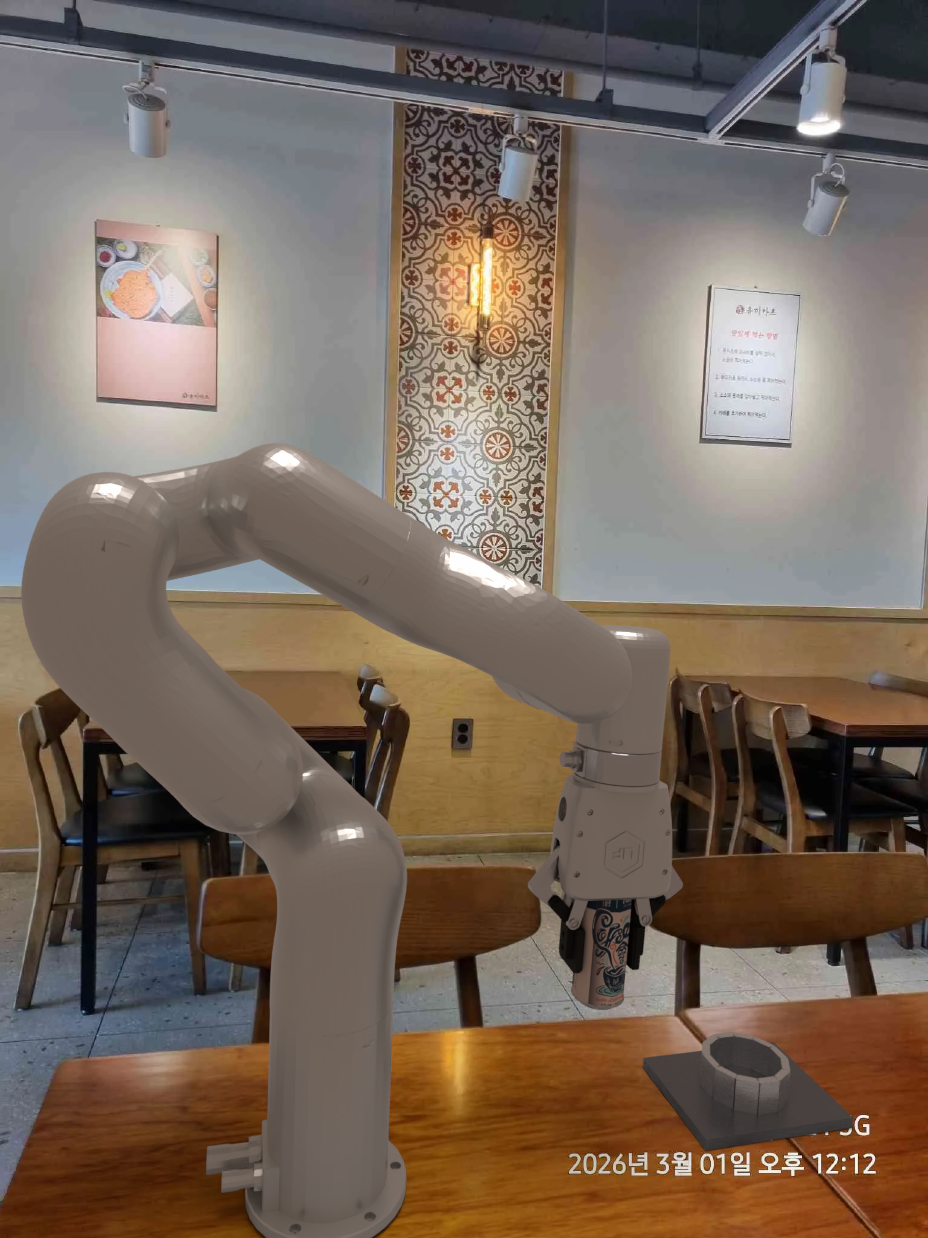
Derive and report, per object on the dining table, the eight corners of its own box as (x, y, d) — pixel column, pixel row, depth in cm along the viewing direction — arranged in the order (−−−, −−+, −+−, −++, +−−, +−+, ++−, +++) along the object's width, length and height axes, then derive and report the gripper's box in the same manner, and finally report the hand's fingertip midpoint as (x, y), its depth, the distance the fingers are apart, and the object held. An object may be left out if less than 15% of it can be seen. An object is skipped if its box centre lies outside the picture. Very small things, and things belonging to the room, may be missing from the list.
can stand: (705, 1151, 73) (708, 1107, 73) (642, 1067, 84) (645, 1029, 84) (852, 1128, 77) (855, 1086, 76) (772, 1051, 88) (775, 1014, 88)
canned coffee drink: (600, 1019, 72) (612, 884, 71) (559, 995, 76) (569, 866, 75) (634, 1003, 75) (646, 873, 75) (593, 981, 79) (604, 856, 78)
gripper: (540, 776, 68) (523, 992, 70) (725, 777, 73) (706, 980, 74) (512, 754, 76) (497, 950, 77) (681, 756, 80) (665, 941, 81)
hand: (600, 962), depth 75 cm, fingers closed on canned coffee drink, 4 cm apart
